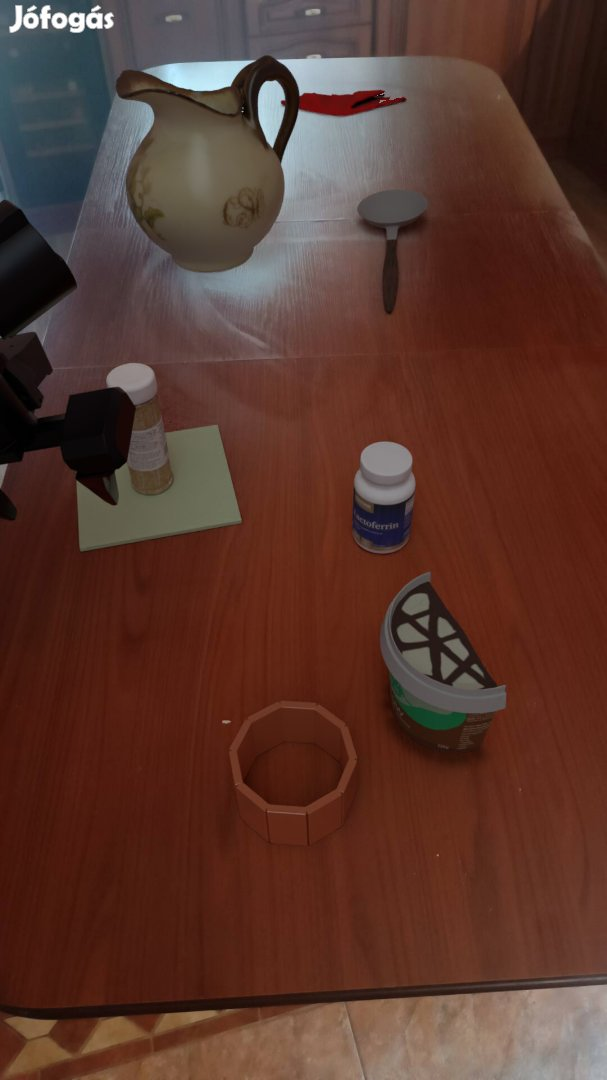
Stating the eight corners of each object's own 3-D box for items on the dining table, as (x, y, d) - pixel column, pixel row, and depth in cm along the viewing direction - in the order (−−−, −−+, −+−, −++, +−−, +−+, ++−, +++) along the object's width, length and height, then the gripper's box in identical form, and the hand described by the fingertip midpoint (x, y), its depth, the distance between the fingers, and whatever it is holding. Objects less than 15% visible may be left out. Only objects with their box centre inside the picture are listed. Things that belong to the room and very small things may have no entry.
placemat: (80, 551, 78) (79, 548, 78) (75, 450, 89) (74, 446, 89) (242, 523, 80) (241, 519, 80) (218, 427, 91) (217, 424, 91)
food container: (352, 665, 68) (354, 588, 61) (417, 644, 69) (427, 566, 62) (416, 792, 60) (428, 721, 53) (489, 765, 61) (510, 691, 54)
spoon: (427, 205, 129) (427, 187, 127) (430, 320, 107) (430, 300, 105) (360, 210, 131) (358, 192, 129) (349, 324, 109) (347, 305, 107)
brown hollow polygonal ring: (248, 860, 57) (242, 829, 53) (227, 747, 63) (221, 712, 59) (367, 831, 58) (370, 799, 54) (336, 723, 64) (336, 688, 60)
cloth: (272, 114, 162) (272, 102, 161) (286, 92, 172) (286, 81, 170) (401, 120, 159) (401, 107, 157) (407, 97, 168) (408, 85, 166)
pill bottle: (344, 548, 77) (346, 470, 70) (360, 509, 81) (363, 432, 74) (402, 561, 76) (410, 483, 69) (416, 521, 80) (424, 443, 73)
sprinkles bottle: (138, 466, 86) (114, 359, 76) (179, 470, 85) (160, 362, 76) (125, 495, 83) (98, 387, 73) (168, 499, 82) (146, 390, 73)
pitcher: (112, 279, 116) (73, 89, 98) (177, 211, 132) (153, 36, 114) (257, 299, 111) (244, 103, 93) (307, 226, 127) (304, 46, 109)
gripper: (95, 268, 55) (180, 415, 68) (-134, 319, 59) (-14, 449, 72) (68, 387, 49) (167, 524, 62) (-186, 434, 53) (-44, 554, 66)
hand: (64, 508), depth 66 cm, fingers open, 9 cm apart
